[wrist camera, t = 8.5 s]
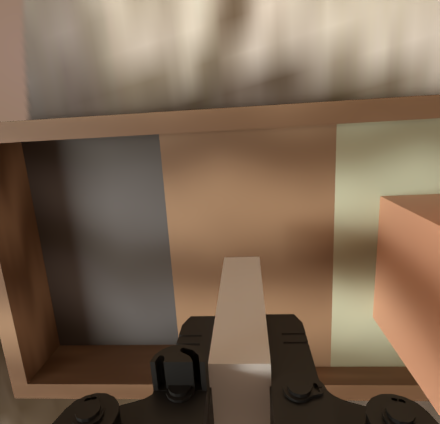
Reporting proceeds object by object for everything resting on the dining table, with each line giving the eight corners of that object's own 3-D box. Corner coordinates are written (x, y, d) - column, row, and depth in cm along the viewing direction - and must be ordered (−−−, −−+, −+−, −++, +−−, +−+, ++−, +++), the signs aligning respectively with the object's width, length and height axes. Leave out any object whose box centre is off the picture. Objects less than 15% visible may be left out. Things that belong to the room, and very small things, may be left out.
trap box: (5, 125, 21) (-50, 125, 17) (788, 77, 17) (946, 63, 13) (51, 355, 24) (14, 398, 20) (699, 352, 21) (803, 403, 17)
